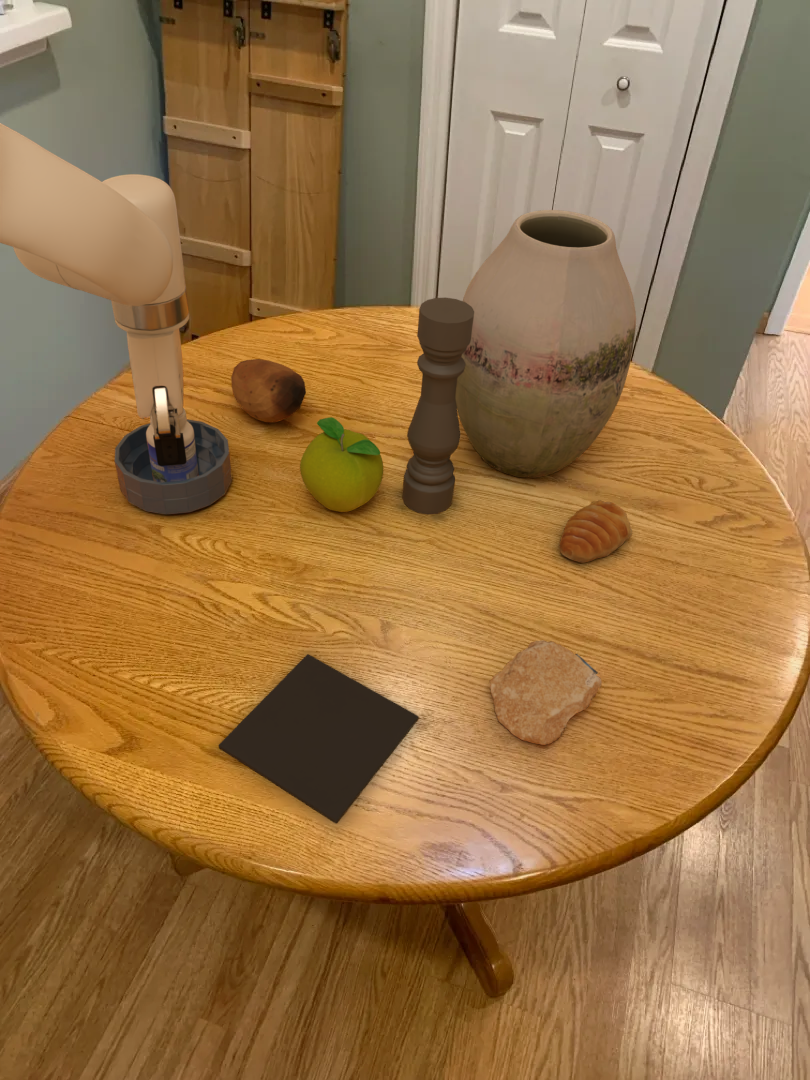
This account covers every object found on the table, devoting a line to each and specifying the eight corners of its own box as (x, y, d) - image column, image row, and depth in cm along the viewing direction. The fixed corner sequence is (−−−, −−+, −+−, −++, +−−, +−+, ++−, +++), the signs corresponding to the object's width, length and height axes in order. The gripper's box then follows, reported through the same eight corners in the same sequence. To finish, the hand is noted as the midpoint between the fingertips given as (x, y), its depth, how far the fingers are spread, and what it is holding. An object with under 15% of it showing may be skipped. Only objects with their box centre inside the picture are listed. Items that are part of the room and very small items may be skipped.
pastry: (592, 577, 95) (600, 552, 92) (542, 549, 98) (548, 524, 95) (633, 537, 100) (641, 513, 98) (585, 512, 104) (591, 487, 101)
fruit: (343, 469, 107) (344, 402, 100) (394, 505, 102) (399, 437, 96) (286, 499, 102) (283, 430, 95) (337, 538, 97) (338, 469, 90)
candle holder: (427, 476, 107) (445, 291, 90) (462, 500, 104) (489, 312, 87) (391, 496, 103) (404, 307, 87) (427, 521, 100) (448, 330, 84)
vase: (591, 412, 120) (643, 199, 100) (614, 507, 104) (681, 277, 84) (442, 402, 120) (464, 186, 100) (442, 496, 104) (469, 262, 84)
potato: (240, 420, 119) (271, 374, 120) (298, 444, 110) (331, 395, 112) (204, 389, 113) (237, 341, 115) (262, 412, 105) (298, 360, 106)
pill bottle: (147, 473, 103) (135, 405, 96) (190, 461, 105) (181, 394, 99) (162, 498, 100) (150, 430, 93) (206, 485, 102) (197, 418, 95)
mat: (336, 824, 71) (336, 821, 70) (218, 748, 75) (218, 744, 75) (418, 719, 79) (418, 716, 79) (307, 656, 84) (307, 653, 84)
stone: (606, 697, 82) (617, 667, 79) (536, 758, 77) (545, 728, 74) (541, 647, 87) (548, 617, 84) (470, 700, 81) (475, 670, 78)
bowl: (178, 532, 96) (173, 499, 93) (98, 489, 101) (90, 456, 98) (253, 477, 105) (251, 444, 101) (175, 439, 109) (171, 407, 106)
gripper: (115, 270, 93) (139, 409, 105) (109, 348, 80) (137, 496, 92) (185, 267, 94) (201, 405, 106) (190, 344, 82) (208, 490, 94)
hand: (171, 446), depth 99 cm, fingers closed on pill bottle, 5 cm apart
